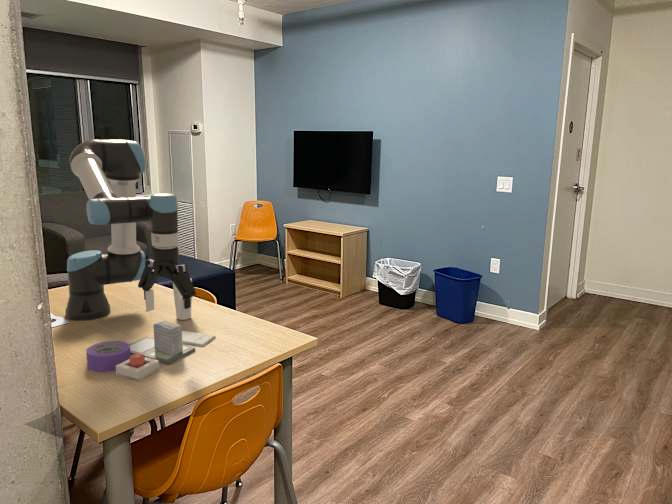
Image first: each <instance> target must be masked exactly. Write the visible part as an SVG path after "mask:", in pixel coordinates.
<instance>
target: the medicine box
mask: <svg viewBox="0 0 672 504" xmlns="http://www.w3.org/2000/svg"><path fill="white" fill-rule="evenodd" d="M182 328H183V327H182V325H181V324H178V323H174V322H171V321H167V320H161V321H159V322H157V323H154V324H153V338H154V344H155V350H157V351H160V352H163V353H166V354H169V355H172V356H173V355H175V354H178V353H180V352H182V351H183V345H184V344H182V331H183V329H182Z"/></svg>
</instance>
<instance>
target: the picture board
mask: <svg viewBox="0 0 672 504" xmlns="http://www.w3.org/2000/svg"><path fill="white" fill-rule="evenodd" d="M128 344H129V345H130V356H131V355H133V354H144V355H145V357H146V358H150V359H154V360H158V361H159V364H164V365H167V366H170V365H171V364H173V363H175V362H177V361H178V360H181V359H182V358H184V357H186V356H187V355H190V354H192V353H193V352H195V351H196V347H193V346H191V345H190V346H189V345H187V344H182V345H183V351H182V352H180V353H178V354H175V355H173V356H172V355H169V354H166V353H163V352H160V351H157V350H155V344H154V337H150V336H144V337H142V338H140V339H138V340H135V341H133V342H131V343H128Z"/></svg>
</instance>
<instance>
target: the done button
mask: <svg viewBox="0 0 672 504" xmlns="http://www.w3.org/2000/svg"><path fill="white" fill-rule="evenodd" d="M129 359H130V366H131V367H135V368H139V367H141V366H143V365H145V355H144V354H133V355H130V357H129Z"/></svg>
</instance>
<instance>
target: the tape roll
mask: <svg viewBox="0 0 672 504" xmlns="http://www.w3.org/2000/svg"><path fill="white" fill-rule="evenodd" d="M129 344H130V343H129V342H126V341H122V340H109V341H108V340H107V341H102V342H98V343H95V344H91V346H88V348H86V365H87V369H88V370H90V371H92V372H99V373H106V372H107V373H108V372H114V371H115V372H116V365H118V364H120V363H122V362H124V361H126V360H128V359H129V357H130V356H131V355H130V345H129Z"/></svg>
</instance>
